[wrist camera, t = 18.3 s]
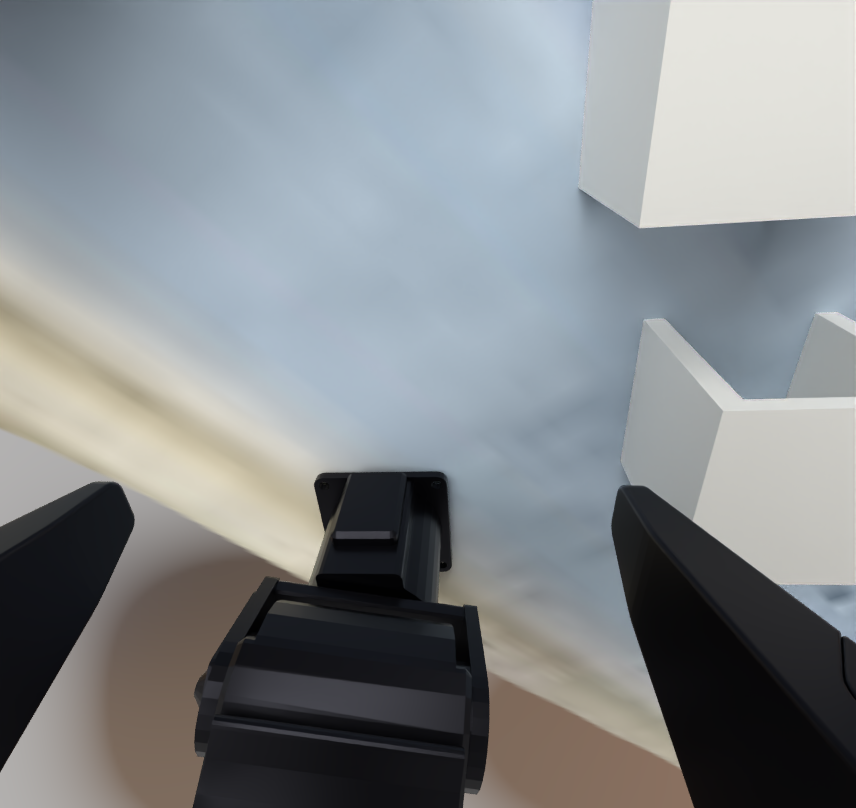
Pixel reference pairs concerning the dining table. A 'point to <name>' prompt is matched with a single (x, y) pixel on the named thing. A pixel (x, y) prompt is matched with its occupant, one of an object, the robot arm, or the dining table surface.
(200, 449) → the dining table surface
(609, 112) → the cover
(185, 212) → the dining table surface
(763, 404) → the cover
